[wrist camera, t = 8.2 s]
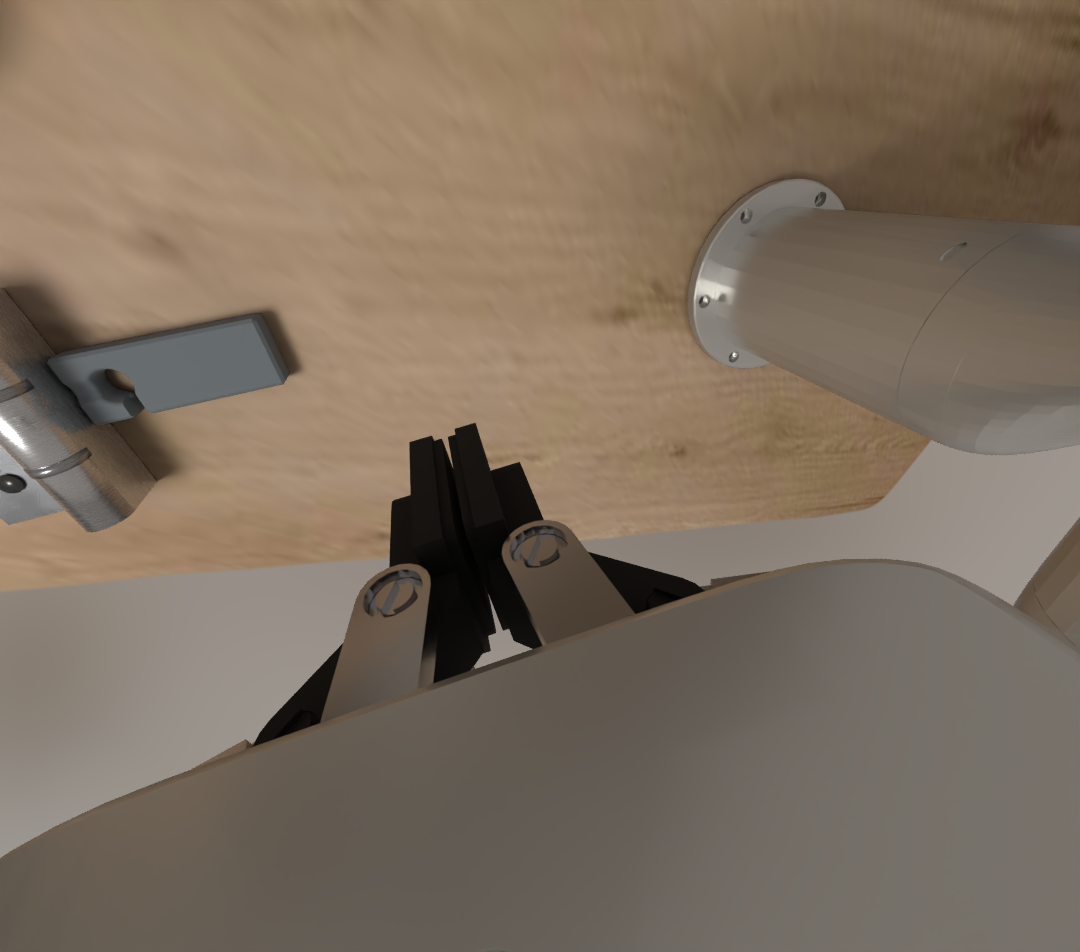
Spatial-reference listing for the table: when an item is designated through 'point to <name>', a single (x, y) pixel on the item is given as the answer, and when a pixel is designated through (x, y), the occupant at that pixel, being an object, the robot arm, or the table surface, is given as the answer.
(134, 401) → the bracket
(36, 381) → the metal hinge
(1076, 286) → the robot arm
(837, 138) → the table surface
